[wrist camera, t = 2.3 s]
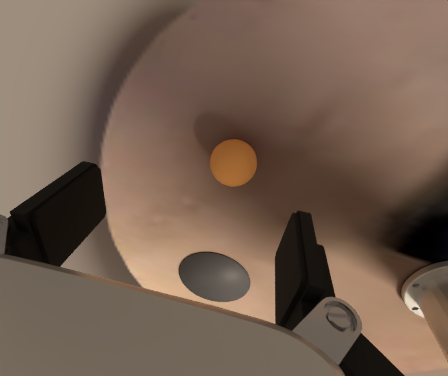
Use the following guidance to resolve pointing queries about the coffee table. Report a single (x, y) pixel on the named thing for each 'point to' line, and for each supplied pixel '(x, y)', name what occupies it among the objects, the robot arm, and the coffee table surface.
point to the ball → (233, 162)
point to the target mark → (214, 277)
